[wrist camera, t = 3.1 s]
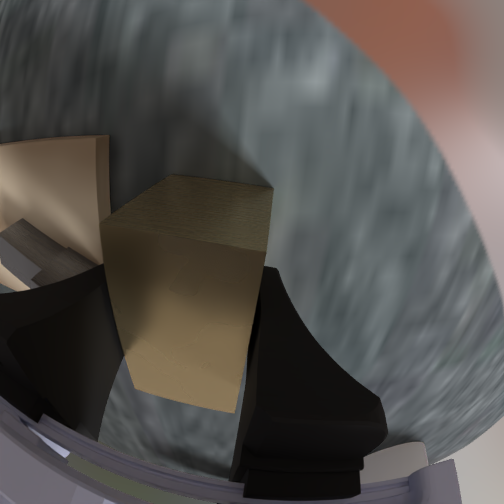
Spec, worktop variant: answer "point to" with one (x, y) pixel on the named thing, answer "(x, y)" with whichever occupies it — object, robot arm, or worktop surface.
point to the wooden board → (56, 192)
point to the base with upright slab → (394, 462)
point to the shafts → (38, 256)
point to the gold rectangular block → (187, 284)
